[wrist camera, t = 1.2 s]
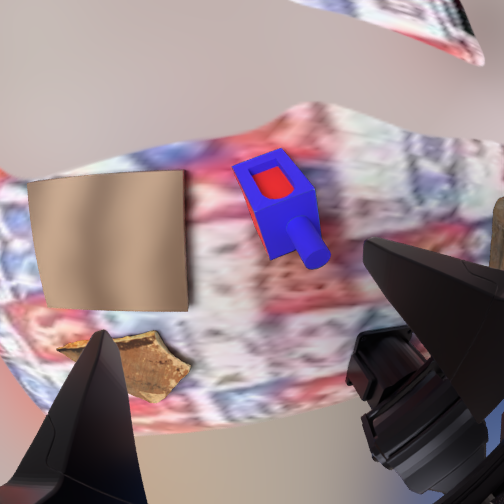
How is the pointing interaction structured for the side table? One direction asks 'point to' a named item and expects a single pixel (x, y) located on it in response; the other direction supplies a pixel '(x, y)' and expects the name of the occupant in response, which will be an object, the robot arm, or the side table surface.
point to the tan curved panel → (111, 241)
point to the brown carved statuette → (497, 236)
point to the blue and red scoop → (283, 207)
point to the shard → (142, 365)
